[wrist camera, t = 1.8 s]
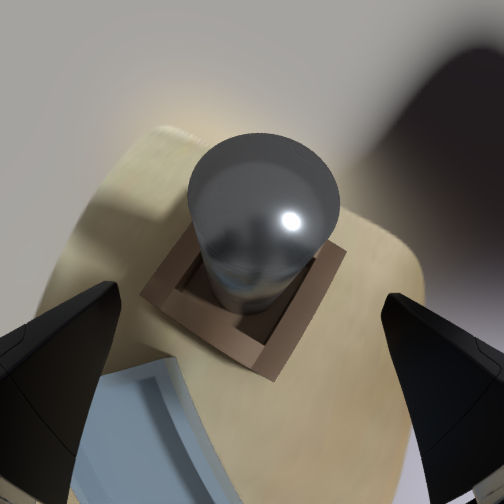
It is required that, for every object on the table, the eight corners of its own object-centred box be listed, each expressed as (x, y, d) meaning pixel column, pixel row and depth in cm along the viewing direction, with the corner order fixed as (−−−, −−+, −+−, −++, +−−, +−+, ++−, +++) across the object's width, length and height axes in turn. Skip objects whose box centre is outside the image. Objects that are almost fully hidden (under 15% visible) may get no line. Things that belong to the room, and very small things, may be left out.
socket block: (331, 265, 20) (346, 251, 17) (267, 377, 17) (273, 382, 15) (225, 202, 21) (225, 180, 18) (152, 303, 18) (139, 294, 16)
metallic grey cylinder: (290, 301, 18) (365, 234, 8) (224, 325, 17) (217, 289, 7) (264, 240, 19) (300, 122, 9) (201, 261, 19) (171, 153, 8)
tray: (253, 521, 13) (257, 546, 10) (134, 539, 12) (122, 560, 8) (175, 356, 17) (163, 358, 14) (57, 388, 16) (30, 391, 12)
